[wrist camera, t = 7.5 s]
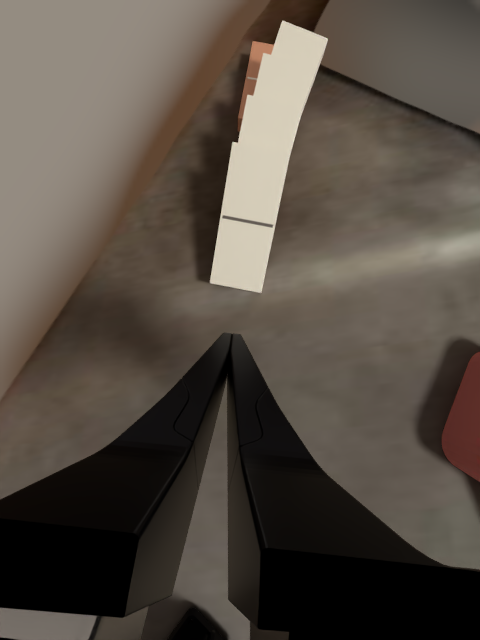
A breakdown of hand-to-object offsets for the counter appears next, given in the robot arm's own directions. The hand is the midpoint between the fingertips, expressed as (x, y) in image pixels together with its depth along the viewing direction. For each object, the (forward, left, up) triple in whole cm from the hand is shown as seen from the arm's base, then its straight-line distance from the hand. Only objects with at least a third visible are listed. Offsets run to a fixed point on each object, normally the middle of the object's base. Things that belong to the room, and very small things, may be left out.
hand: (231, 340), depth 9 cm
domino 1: (+4, +3, -8) cm, 10 cm away
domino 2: (+9, +6, -8) cm, 14 cm away
